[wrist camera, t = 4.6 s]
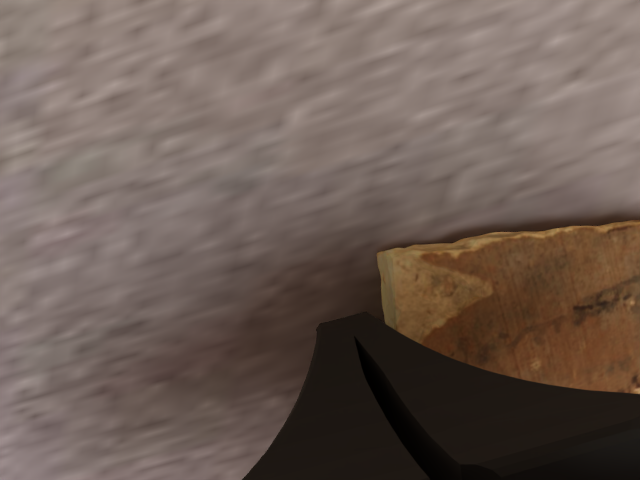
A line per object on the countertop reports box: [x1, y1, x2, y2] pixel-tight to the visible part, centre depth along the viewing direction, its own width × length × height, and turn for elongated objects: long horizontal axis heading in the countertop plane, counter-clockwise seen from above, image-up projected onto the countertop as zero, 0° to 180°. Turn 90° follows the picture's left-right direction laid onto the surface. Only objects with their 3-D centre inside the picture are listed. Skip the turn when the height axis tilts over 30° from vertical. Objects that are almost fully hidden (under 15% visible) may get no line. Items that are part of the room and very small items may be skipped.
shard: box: [377, 220, 640, 394], centre depth 13 cm, size 11×8×2 cm
